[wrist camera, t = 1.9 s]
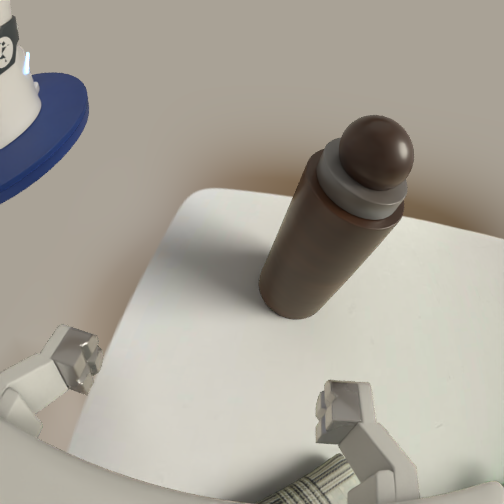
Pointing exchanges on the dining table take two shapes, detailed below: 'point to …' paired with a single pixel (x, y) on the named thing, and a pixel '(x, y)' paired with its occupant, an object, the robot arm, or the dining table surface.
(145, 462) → the dining table surface
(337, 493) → the dish towel
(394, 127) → the pepper mill
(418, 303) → the dining table surface
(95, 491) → the robot arm
